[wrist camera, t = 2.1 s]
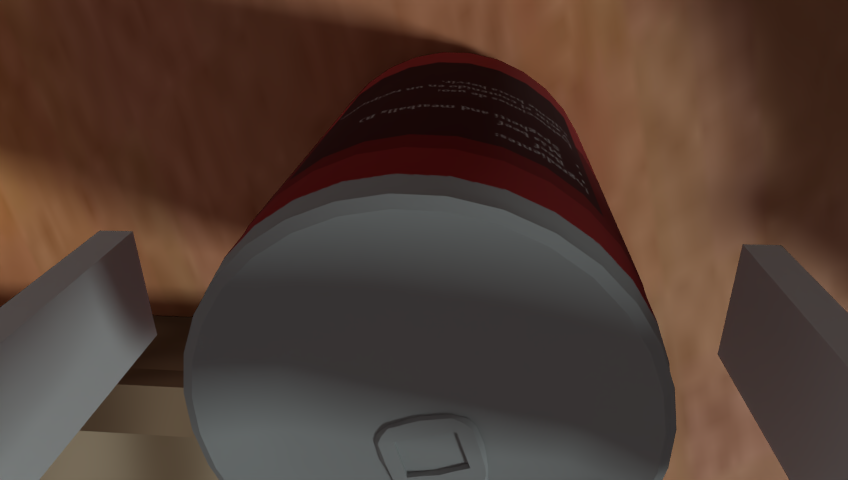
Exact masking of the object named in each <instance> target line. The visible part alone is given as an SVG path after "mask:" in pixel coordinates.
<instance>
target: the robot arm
mask: <svg viewBox="0 0 848 480" xmlns="http://www.w3.org/2000/svg"><path fill="white" fill-rule="evenodd" d="M156 336H157V332H156V328H155V324H154V320H153V315H152V311H151V307H150V303H149V298H148V294H147V290H146V286H145V281H144V277H143V273H142V269H141V264H140V260H139V256H138V252H137V248H136V243H135V239H134V235H133V231H99V232H97V233H96V234H95V235H94V236H92V237H91V238H90V239H88V240H87V241H86V242H85V243H83V244H82V245H81V246H79V247H78V248H77V249H75V250H74V251H73V252H72V253H70V254H69V255H68V256H66V257H65V258H64V259H62V260H61V261H60V262H59V263H57V264H56V265H55V266H53V267H52V268H51V269H49V270H48V271H47V272H46V273H44V274H43V275H42V276H40V277H39V278H38V279H36V280H35V281H34V282H33V283H31V284H30V285H29V286H27V287H26V288H25V289H24V290H22V291H21V292H20V293H18V294H17V295H16V296H14V297H13V298H12V299H11V300H9V301H8V302H7V303H5V304H4V305H3V306H1V307H0V480H40V478H41V477H42V476H43V475H44V473H45V472H46V471H47V470H48V468H49V467H50V466H51V465H52V464H53V462H54V461H55V460H56V459H57V457H58V456H59V455H60V454H61V452H62V451H63V450H64V449H65V448H66V446H67V445H68V444H69V443H70V441H71V440H72V439H73V438H74V436H75V435H76V434H77V433H78V432H79V430H80V429H81V428H82V427H83V425H84V424H85V423H86V422H87V420H88V419H89V418H90V417H91V416H92V414H93V413H94V412H95V411H96V409H97V408H98V407H99V406H100V404H101V403H102V402H103V401H104V400H105V398H106V397H107V396H108V395H109V393H110V392H111V391H112V390H113V389H114V387H115V386H116V385H117V384H118V382H119V381H120V380H121V379H122V377H123V376H124V375H125V374H126V373H127V371H128V370H129V369H130V368H131V366H132V365H133V364H134V363H135V361H136V360H137V359H138V358H139V357H140V355H141V354H142V353H143V352H144V350H145V349H146V348H147V347H148V345H149V344H150V343H151V342H152V341H153V339H154V338H155V337H156ZM718 356H719V357H720V359H721V361H722V363H723V364H724V366H725V368H726V370H727V371H728V373H729V375H730V377H731V378H732V380H733V382H734V384H735V385H736V387H737V389H738V391H739V392H740V394H741V396H742V398H743V399H744V401H745V403H746V405H747V406H748V408H749V410H750V412H751V413H752V415H753V417H754V419H755V420H756V422H757V424H758V426H759V427H760V429H761V431H762V433H763V434H764V436H765V438H766V440H767V441H768V443H769V445H770V447H771V448H772V450H773V452H774V454H775V455H776V457H777V459H778V461H779V462H780V464H781V466H782V468H783V469H784V471H785V473H786V475H787V476H788V478H789V480H848V313H847V312H846V311H845V310H844V309H843V308H842V307H841V306H840V305H839V304H838V303H837V302H836V300H835V299H834V298H833V297H832V296H831V295H830V294H829V293H828V292H827V291H826V290H825V289H824V288H823V287H822V286H821V285H820V284H819V283H818V282H817V281H816V280H815V279H814V278H813V277H812V276H811V275H810V274H809V273H808V272H807V271H806V270H805V269H804V268H803V267H802V266H801V265H800V264H799V263H798V262H797V261H796V260H795V259H794V258H793V257H792V256H791V255H790V254H789V253H788V252H787V251H786V250H785V248H784V247H783V246H782V245H747V244H743V245H742V250H741V254H740V259H739V263H738V267H737V272H736V276H735V281H734V285H733V289H732V294H731V298H730V303H729V307H728V311H727V316H726V320H725V325H724V329H723V333H722V338H721V342H720V346H719V351H718Z"/></svg>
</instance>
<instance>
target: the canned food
mask: <svg viewBox="0 0 848 480" xmlns="http://www.w3.org/2000/svg"><path fill="white" fill-rule="evenodd" d="M184 397H185V401H186V405H187V410H188V414H189V418H190V422H191V427H192V430H193V433H194V435H195V437H196V439H197V441H198V443H199V446H200V448H201V450H202V452H203V454H204V456H205V458H206V461H207V463H208V465H209V466H210V468H211V469H212V471H213V472H214V473H215V475H216V476H217V478H218V479H219V480H662V479H663V477H664V475H665V473H666V471H667V469H668V466H669V461H670V457H671V452H672V447H673V443H674V438H675V433H676V409H675V388H674V384H673V381H672V378H671V374H670V369H669V361H668V357H667V354H666V350H665V347H664V344H663V340H662V337H661V334H660V330H659V327H658V324H657V321H656V318H655V316H654V314H653V311H652V309H651V306H650V304H649V302H648V299H647V297H646V294H645V291H644V287H643V284H642V282H641V279H640V277H639V275H638V272H637V270H636V268H635V265H634V263H633V261H632V259H631V256H630V254H629V252H628V249H627V247H626V245H625V243H624V240H623V238H622V236H621V233H620V231H619V229H618V227H617V224H616V222H615V220H614V217H613V215H612V213H611V211H610V208H609V206H608V204H607V201H606V199H605V197H604V195H603V192H602V190H601V188H600V185H599V183H598V181H597V179H596V176H595V174H594V172H593V169H592V167H591V165H590V163H589V160H588V158H587V156H586V153H585V151H584V149H583V146H582V144H581V142H580V140H579V137H578V135H577V133H576V131H575V129H574V127H573V126H572V124H571V122H570V120H569V119H568V117H567V115H566V113H565V111H564V110H563V108H562V107H561V106H560V105H559V104H558V103H557V101H556V100H555V99H554V98H553V97H552V96H551V95H550V93H549V92H548V91H547V90H546V89H545V88H544V87H543V86H541V85H540V84H539V83H537V82H536V81H535V80H533V79H532V78H531V77H529V76H528V75H527V74H525V73H524V72H523V71H520V70H518V69H516V68H514V67H512V66H510V65H508V64H506V63H504V62H502V61H499V60H497V59H493V58H489V57H484V56H480V55H476V54H472V53H449V52H442V53H436V54H431V55H425V56H420V57H415V58H413V59H410V60H408V61H406V62H403V63H401V64H398V65H396V66H394V67H391V68H390V69H388V70H387V71H385V72H384V73H383V74H381V75H380V76H378V77H377V78H375V79H374V80H373V81H371V82H370V83H369V84H368V85H367V86H366V87H365V88H364V89H363V90H362V91H361V92H360V93H359V95H358V96H357V97H356V98H355V99H354V100H353V101H352V102H351V103H350V105H349V106H348V107H347V108H346V109H345V111H344V112H343V113H342V114H341V115H340V117H339V118H338V119H337V120H336V121H335V123H334V124H333V125H332V126H331V127H330V129H329V130H328V131H327V132H326V133H325V135H324V136H323V137H322V138H321V139H320V141H319V142H318V143H317V144H316V145H315V147H314V148H313V149H312V150H311V151H310V153H309V154H308V155H307V156H306V157H305V159H304V160H303V161H302V162H301V163H300V165H299V166H298V167H297V168H296V169H295V171H294V172H293V173H292V174H291V175H290V177H289V178H288V179H287V180H286V181H285V183H284V184H283V185H282V186H281V187H280V189H279V190H278V191H277V192H276V193H275V195H274V196H273V197H272V198H271V199H270V201H269V202H268V203H267V204H266V205H265V207H264V208H263V209H262V210H261V211H260V213H259V214H258V215H257V216H256V217H255V219H254V220H253V221H252V222H251V223H250V225H249V226H248V228H247V229H246V231H245V233H244V234H243V235H242V237H241V238H240V239H239V240H238V242H237V243H236V244H235V245H234V247H233V248H232V249H231V250H230V251H229V253H228V254H227V255H226V256H225V258H224V260H223V261H222V263H221V265H220V267H219V269H218V270H217V272H216V274H215V276H214V278H213V280H212V281H211V283H210V285H209V287H208V289H207V290H206V292H205V295H204V297H203V299H202V300H201V302H200V304H199V306H198V308H197V309H196V311H195V313H194V315H193V319H192V323H191V326H190V330H189V334H188V338H187V342H186V346H185V350H184Z"/></svg>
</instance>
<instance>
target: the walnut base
mask: <svg viewBox="0 0 848 480" xmlns="http://www.w3.org/2000/svg"><path fill="white" fill-rule="evenodd" d="M192 319H193V317H171V316H153V320H154V324H155V328H156V332H157V336H156V337H155V338H154V339H153V341H152V342H151V343H150V344H149V345H148V347H147V348H146V349H145V350H144V352H143V353H142V354H141V355H140V357H139V358H138V359H137V360H136V361H135V363H134V364H133V365H132V366H131V368H130V369H129V370H128V371H127V373H126V374H125V375H124V376H123V377H122V379H121V380H120V381H119V382H118V384H117V385H116V386H115V387H114V389H113V390H112V391H111V392H110V393H109V395H108V396H107V397H106V398H105V400H104V401H103V402H102V403H101V404H100V406H99V407H98V408H97V409H96V411H95V412H94V413H93V414H92V416H91V417H90V418H89V419H88V420H87V422H86V423H85V424H84V425H83V427H82V428H81V429H80V430H79V432H78V433H77V434H76V435H75V436H74V438H73V439H72V440H71V441H70V443H69V444H68V445H67V446H66V448H65V449H64V450H63V451H62V452H61V454H60V455H59V456H58V457H57V459H56V460H55V461H54V462H53V464H52V465H51V466H50V467H49V468H48V470H47V471H46V472H45V473H44V475H43V476H42V477H41V478H40V480H219V479H218V478H217V476H216V475H215V473H214V472H213V471H212V469H211V468H210V466H209V465H208V463H207V461H206V458H205V456H204V454H203V452H202V450H201V448H200V446H199V443H198V441H197V439H196V437H195V435H194V433H193V430H192V427H191V422H190V418H189V414H188V410H187V405H186V401H185V397H184V350H185V346H186V342H187V338H188V334H189V330H190V326H191V323H192Z"/></svg>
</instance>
